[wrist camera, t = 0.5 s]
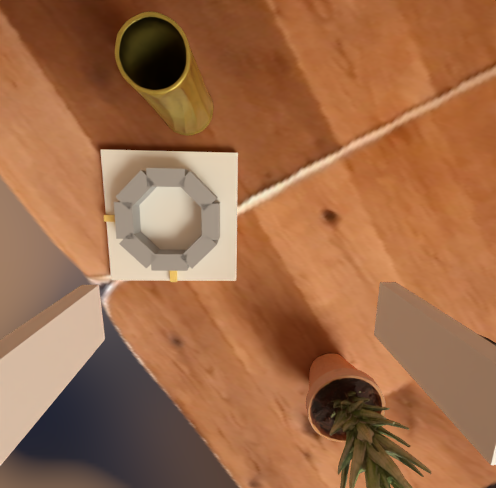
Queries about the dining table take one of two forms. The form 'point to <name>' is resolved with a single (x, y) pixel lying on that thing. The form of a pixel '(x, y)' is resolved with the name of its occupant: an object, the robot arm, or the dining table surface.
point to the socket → (171, 214)
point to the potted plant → (356, 423)
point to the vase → (164, 71)
